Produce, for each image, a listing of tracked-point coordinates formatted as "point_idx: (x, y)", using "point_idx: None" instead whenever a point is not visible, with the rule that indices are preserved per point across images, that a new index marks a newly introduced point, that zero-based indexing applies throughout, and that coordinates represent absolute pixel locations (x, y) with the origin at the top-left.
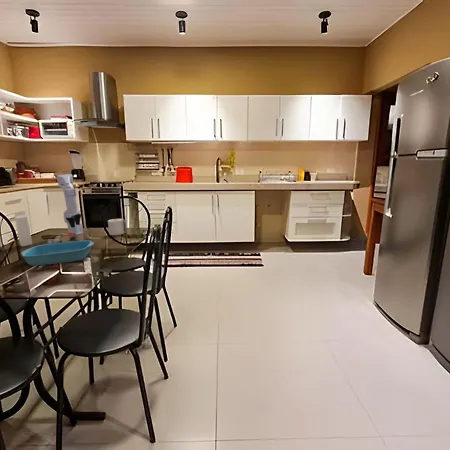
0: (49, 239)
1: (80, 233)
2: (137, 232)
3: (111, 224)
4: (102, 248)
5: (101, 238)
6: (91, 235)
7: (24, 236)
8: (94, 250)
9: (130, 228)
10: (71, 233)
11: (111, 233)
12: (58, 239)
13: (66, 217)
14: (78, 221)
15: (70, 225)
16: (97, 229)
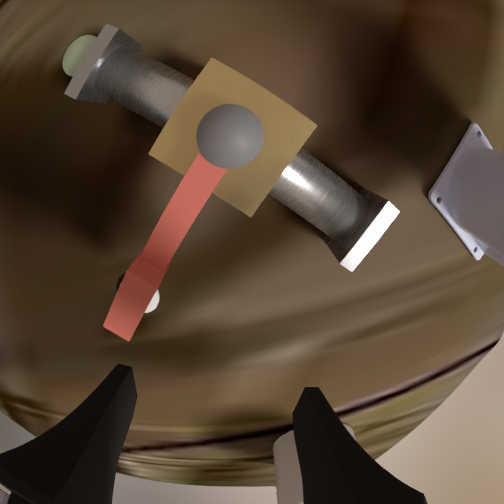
0: (93, 50)
1: (462, 241)
2: None
3: (283, 493)
4: (47, 404)
5: (225, 410)
6: (359, 341)
7: None
8: (21, 381)
9: (386, 447)
10: (110, 312)
11: (284, 443)
12: (153, 117)
13: (11, 489)
14: (304, 453)
15: (100, 384)
16: (493, 317)
